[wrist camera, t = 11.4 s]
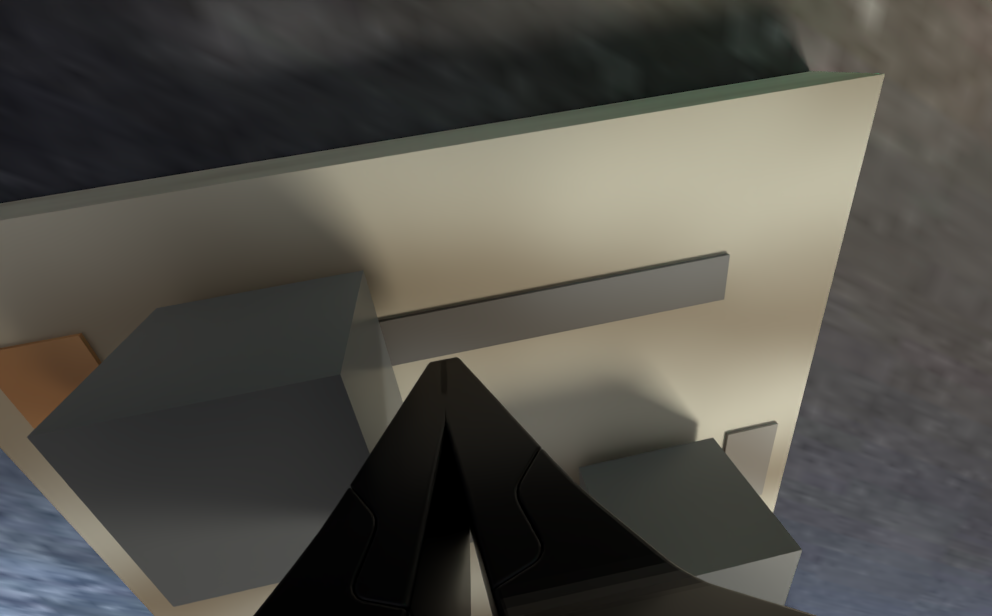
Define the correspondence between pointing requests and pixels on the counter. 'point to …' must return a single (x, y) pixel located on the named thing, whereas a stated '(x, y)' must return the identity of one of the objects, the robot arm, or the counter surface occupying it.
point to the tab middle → (699, 516)
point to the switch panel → (487, 272)
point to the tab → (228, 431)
